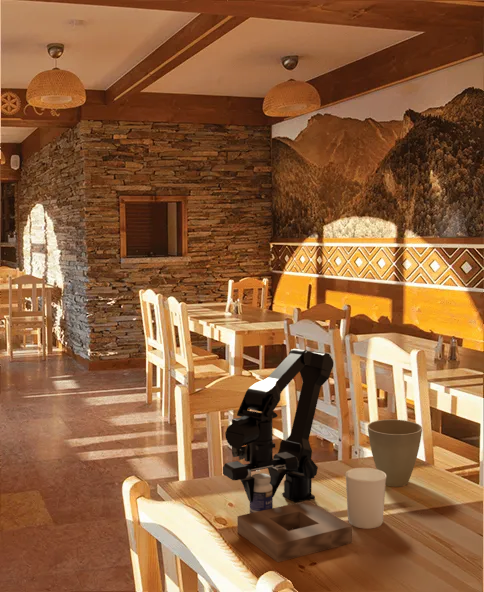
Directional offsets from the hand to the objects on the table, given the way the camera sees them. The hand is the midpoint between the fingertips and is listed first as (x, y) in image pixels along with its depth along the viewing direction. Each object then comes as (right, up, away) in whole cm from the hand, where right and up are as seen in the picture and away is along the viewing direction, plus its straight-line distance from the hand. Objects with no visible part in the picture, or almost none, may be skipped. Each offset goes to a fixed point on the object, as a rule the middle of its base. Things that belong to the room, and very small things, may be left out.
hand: (261, 499), depth 194 cm
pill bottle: (0, -4, 0) cm, 4 cm away
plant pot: (+37, -2, +23) cm, 44 cm away
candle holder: (+25, -5, -4) cm, 26 cm away
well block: (+7, -6, -13) cm, 16 cm away
